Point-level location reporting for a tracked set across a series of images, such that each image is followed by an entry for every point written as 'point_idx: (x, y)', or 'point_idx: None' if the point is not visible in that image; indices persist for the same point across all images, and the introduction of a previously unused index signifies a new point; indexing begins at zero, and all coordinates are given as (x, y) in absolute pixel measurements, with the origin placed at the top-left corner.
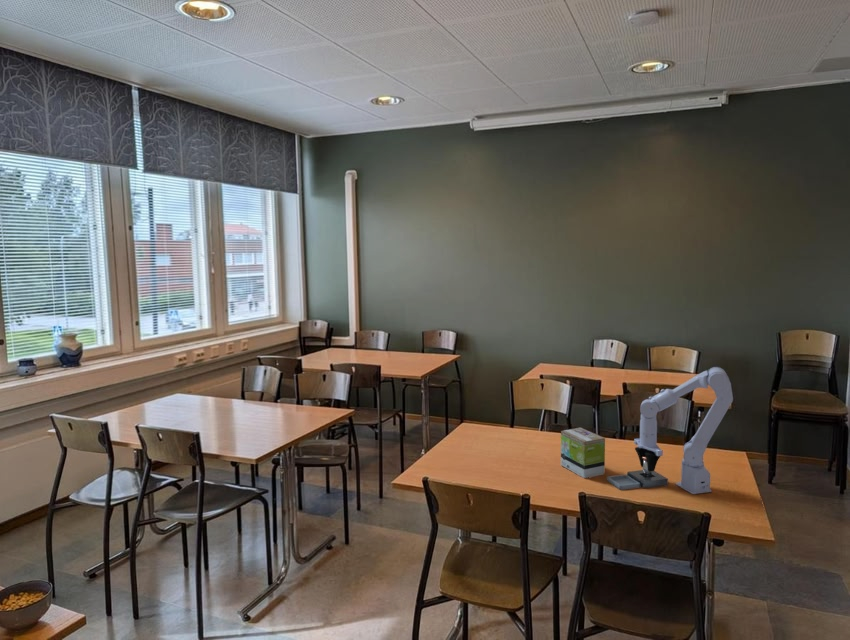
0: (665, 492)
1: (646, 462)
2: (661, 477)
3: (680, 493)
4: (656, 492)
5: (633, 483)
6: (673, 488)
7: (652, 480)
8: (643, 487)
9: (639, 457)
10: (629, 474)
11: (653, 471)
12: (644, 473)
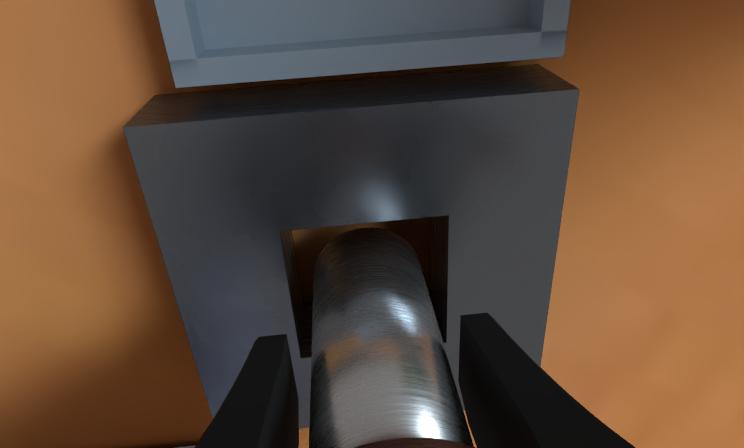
0: (29, 285)
1: (330, 435)
2: None
3: (14, 395)
4: (19, 194)
5: (298, 30)
6: (149, 390)
7: (170, 272)
8: (151, 104)
9: (565, 424)
10: (508, 87)
11: (459, 395)
12: (355, 269)
